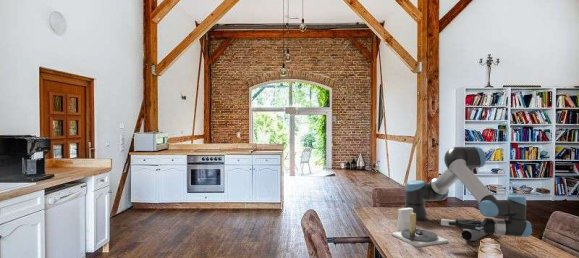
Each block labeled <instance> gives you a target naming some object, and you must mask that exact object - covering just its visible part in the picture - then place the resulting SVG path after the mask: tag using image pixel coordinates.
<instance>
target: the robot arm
mask: <svg viewBox="0 0 579 258" xmlns="http://www.w3.org/2000/svg"><path fill="white" fill-rule="evenodd" d="M486 160H487V159H486V153H485V152H484V150H483V148H481V147H478V146H452V147H450V148H449V149H448V150H447V151H446V152H445V154H444V158H443V161H444V164H445V167H446V169H445V170H443V171H444V172H442V173H441V174H440V175H439V176H438V177H434V178H433V179H431V180H430V181H429V182H425V181H424V180H417V179H416V180H411V181H410V180H409V181H407V182H406V183H405V189H404V190H405V192H404V193H405V205H404V207H403V208H413V213H416V221H425V220H427V219H428V214H427V211H426V208H425V202H429V201H430V202H432V201H437V202H438V201H443V200H446V199H447V197H448V196H449V193H450V192H449V188H450V187H452V185H454V183H456V182H457V181H458V180H459V181H460V182H461V184H462V185H463V186H464V187H465V188H466V190H467V191H468V192H469V193H470V194H471V195H472V196H473V198H474V199H475V201H476V202H478V210H479V213H480V215H482V216H483V217H484V218H483V219H484V221H483V222H481V221H480V220H481V219H480V220H479V219H475V218H472V219H468V218H467V219H466V218H465V219H464V218H455V219H446V218H445V219H444V218H441V219H440V225H441V226H447V227H448V226H450V227H456V228H458V229H462V230H463V229H470V230H476V231H481V230H484V232H485V233H486V234H487V235H497V236H500V237H501V236H508V237H509V236H510V237H519V238H529V237H530V236H532V233H533V228H532V224H531V222H530V221H528V220H527V198H526V196H523V195H521V194H509V195H507V199H497V198H496V196H495V195H494V194H493V193H492V192H491V191H490V190H489V189H488V188H487V186H485V184H484V183H483V182H482V181H481V180H480V179H479V177H478V176H476V174H475V173H474V172H473V171H474V169H476V168H477V169H480V168H483V167H484V166H485V164H486V162H487V161H486ZM498 217H507V218H506V219H504V218H498Z"/></svg>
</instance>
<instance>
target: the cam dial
mask: <svg viewBox="0 0 579 258" xmlns="http://www.w3.org/2000/svg"><path fill="white" fill-rule="evenodd" d="M416 226H417V220H416V213H410V229H406V230H403V231H400V232H401V235H402V236H403V237H405V238H407V239H410V237H411V236H412V237H413V240H415V241H435V240H437V239H438V236H439V235H438V234H437V233H435V232H434V231H430V230H425V229H419V228H417V227H416Z"/></svg>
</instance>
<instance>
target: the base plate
mask: <svg viewBox="0 0 579 258" xmlns="http://www.w3.org/2000/svg"><path fill="white" fill-rule="evenodd" d="M401 232H402V231H396V232H391V236H392V237H395V238H397V239H400V240H401V241H404V242H406V243H408V244H410V245H412V246H413V247H414V246H415V247H425V246H431V245H439V244H447V243H449V239H446V238H444V237H442V236H439V235H438V239H437V240H435V241H415V240H413V237H412V236H411V237H410V239H407V238H405V237H403V236H402V235H401Z"/></svg>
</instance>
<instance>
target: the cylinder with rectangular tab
mask: <svg viewBox="0 0 579 258" xmlns="http://www.w3.org/2000/svg"><path fill="white" fill-rule="evenodd" d="M410 213H413V208H404V207H403V208H398V211H397V214H398V216H397V221H396V223H397V224H396V225H397V226H396V227H397V228H396V230H397V231H398V232H402V231H403V230H406V229H410Z"/></svg>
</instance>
